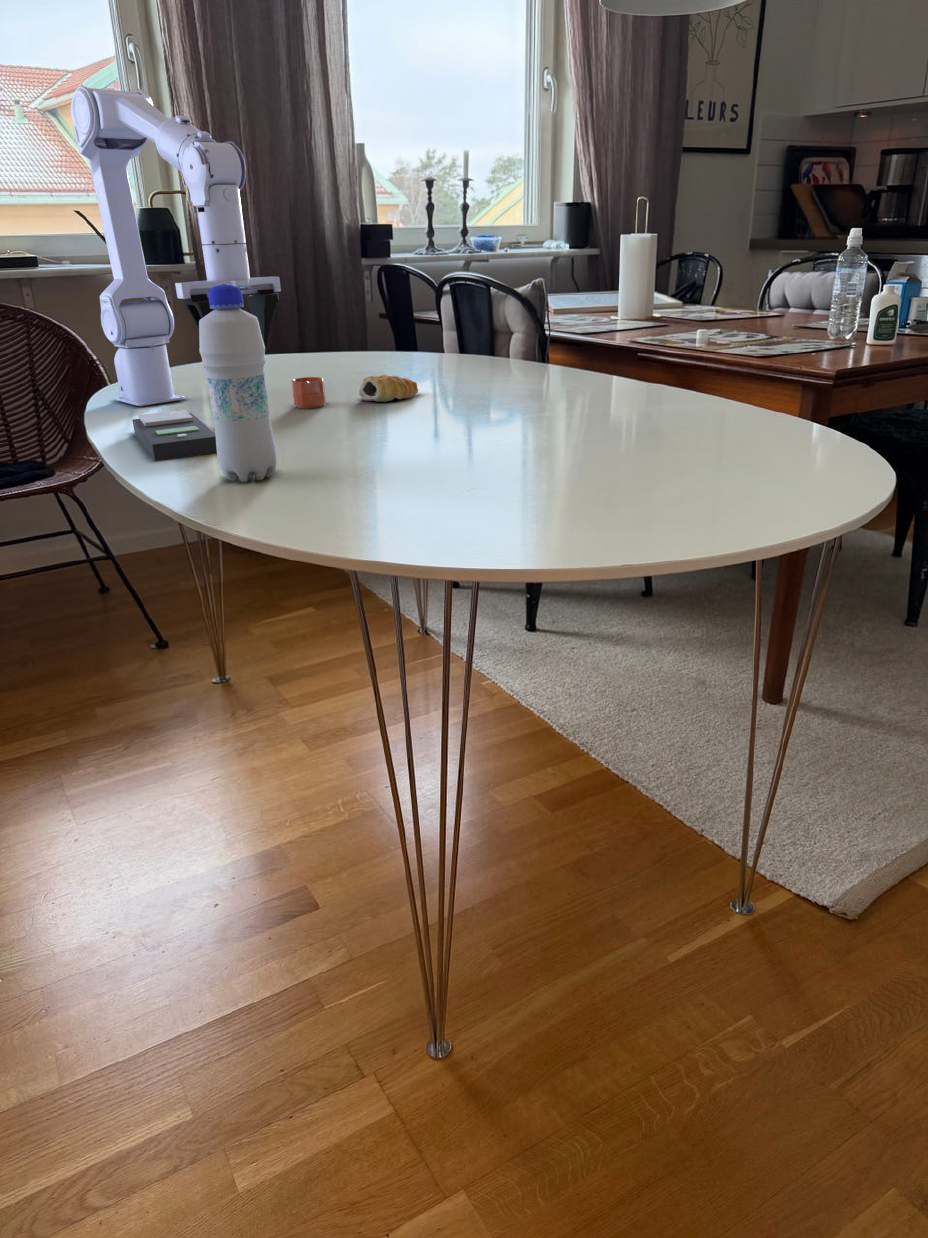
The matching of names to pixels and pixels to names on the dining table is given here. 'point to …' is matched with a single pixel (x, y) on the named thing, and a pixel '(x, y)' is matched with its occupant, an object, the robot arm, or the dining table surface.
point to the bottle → (237, 385)
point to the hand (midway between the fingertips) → (238, 350)
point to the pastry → (387, 388)
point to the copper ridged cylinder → (308, 392)
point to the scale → (174, 435)
